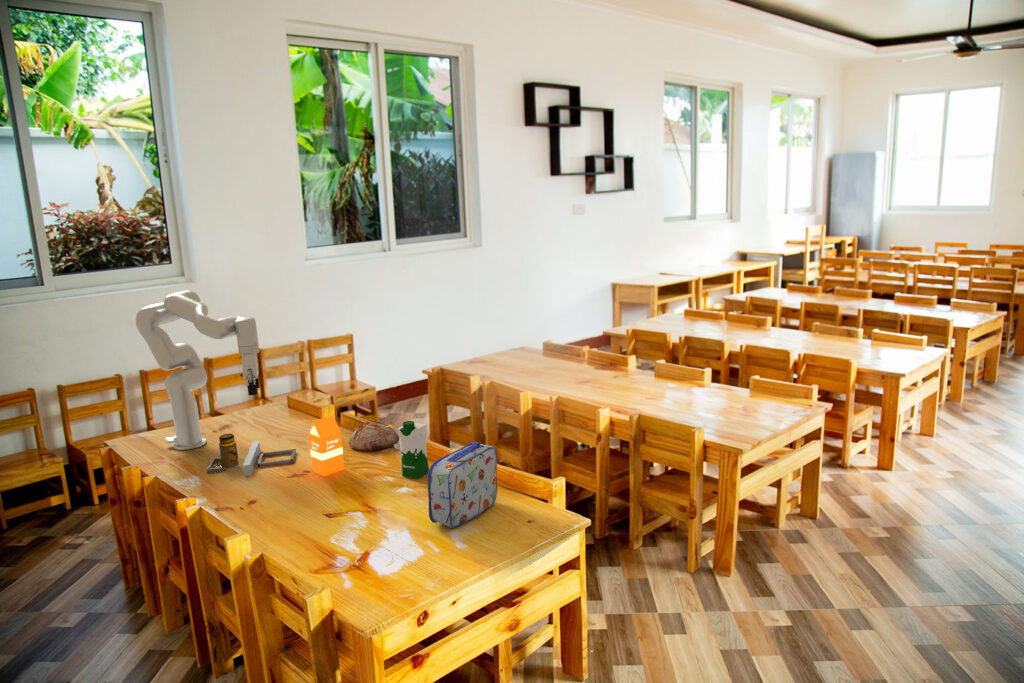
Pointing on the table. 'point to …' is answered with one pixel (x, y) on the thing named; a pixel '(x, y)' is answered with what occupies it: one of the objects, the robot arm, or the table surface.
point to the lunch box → (462, 484)
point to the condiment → (228, 451)
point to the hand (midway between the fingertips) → (254, 391)
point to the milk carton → (413, 449)
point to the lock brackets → (260, 463)
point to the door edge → (251, 458)
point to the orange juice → (326, 446)
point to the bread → (373, 437)
